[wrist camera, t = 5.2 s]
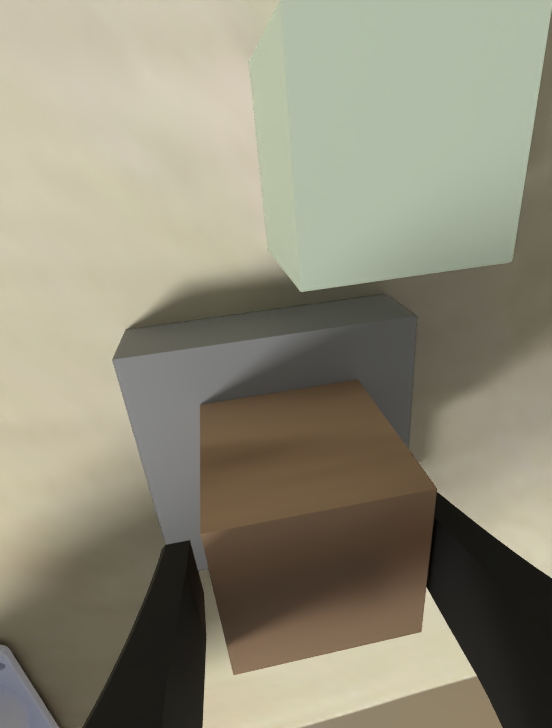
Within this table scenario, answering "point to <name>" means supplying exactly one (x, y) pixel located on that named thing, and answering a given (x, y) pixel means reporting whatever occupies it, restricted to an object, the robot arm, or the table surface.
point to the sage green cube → (395, 134)
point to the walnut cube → (311, 524)
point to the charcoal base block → (252, 381)
